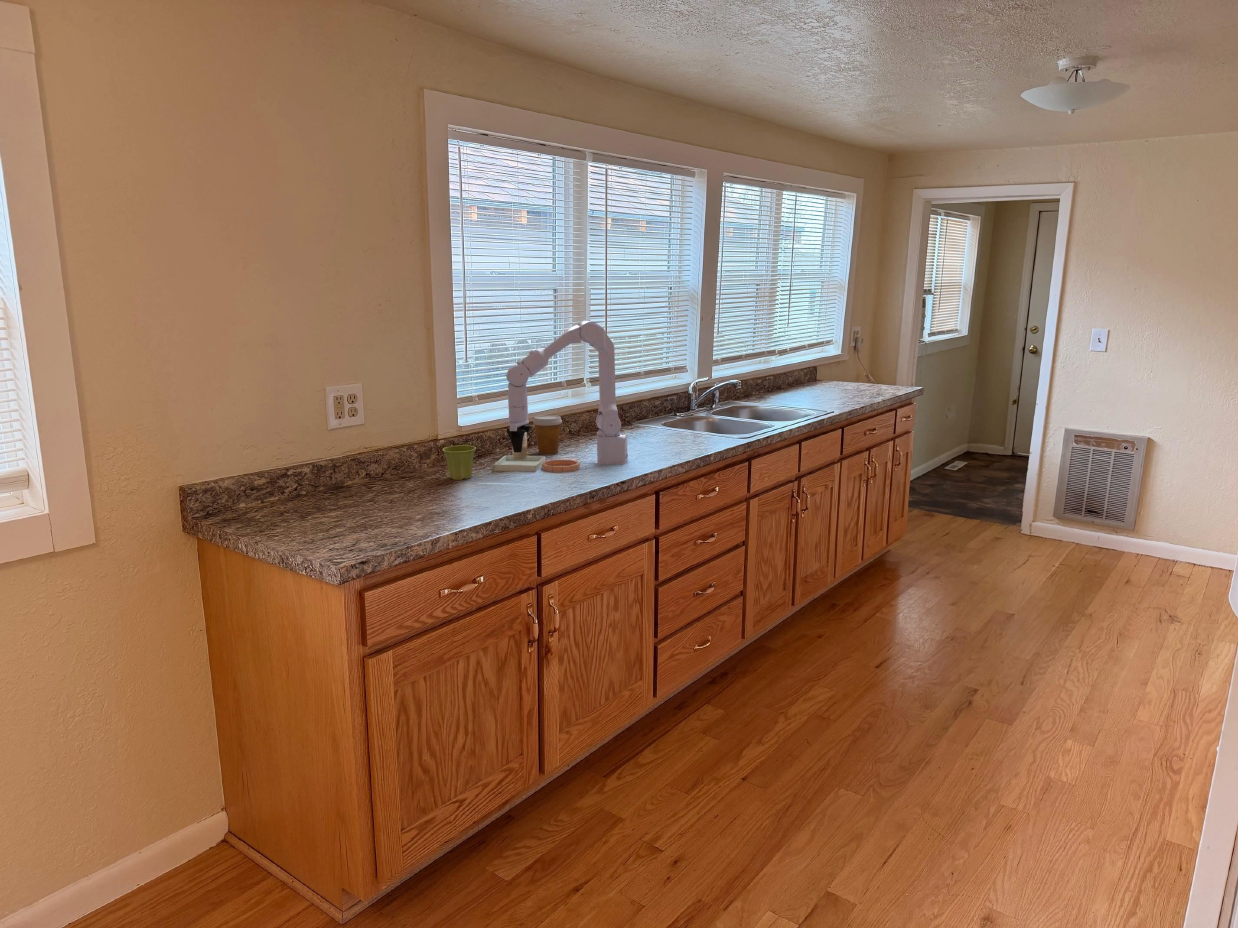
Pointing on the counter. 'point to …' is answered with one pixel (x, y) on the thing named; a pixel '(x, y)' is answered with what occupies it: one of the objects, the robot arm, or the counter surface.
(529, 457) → the grey green tray
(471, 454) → the plant pot
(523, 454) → the birch cylinder
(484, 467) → the counter surface
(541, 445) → the disposable coffee cup
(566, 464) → the terracotta dish
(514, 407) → the robot arm
